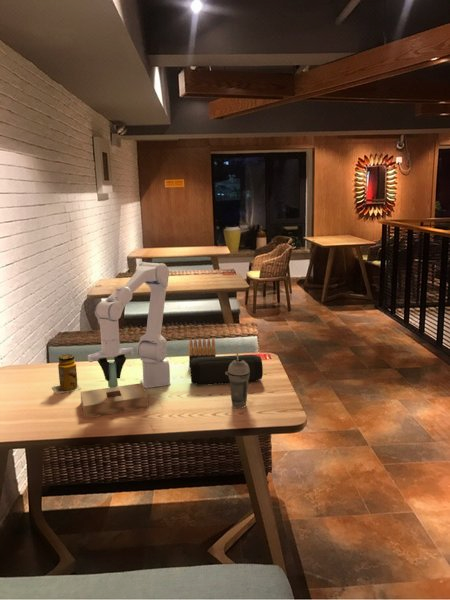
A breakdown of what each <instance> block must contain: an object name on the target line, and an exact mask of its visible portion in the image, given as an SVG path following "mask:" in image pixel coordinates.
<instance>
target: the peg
mask: <svg viewBox="0 0 450 600" xmlns="http://www.w3.org/2000/svg"><path fill="white" fill-rule="evenodd" d="M108 362H109V381H107V388H114V387H118V386H119V385H118V384H119V383H118V382H119V381H118V378H117V367H116V361H115V360H109V361H108Z"/></svg>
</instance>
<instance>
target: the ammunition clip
mask: <svg viewBox="0 0 450 600" xmlns="http://www.w3.org/2000/svg"><path fill="white" fill-rule="evenodd" d="M206 341H207V342H206ZM188 346H189V347H188V358H189V360H188V362H189V363H188V368H189V369H190V360H192V359H195V358H197V357H215V356H216V354H217V352H216V341H215V338H214V337H212V339H210V337H208V338H207V340H206V338H205V337H204V338H203V340H201V337H198V341H197V338H196V337H194V340H193V339H192V338H191V337H190V338H189V345H188Z"/></svg>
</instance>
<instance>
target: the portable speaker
mask: <svg viewBox="0 0 450 600" xmlns="http://www.w3.org/2000/svg"><path fill="white" fill-rule="evenodd" d="M238 358H239V359H240V360H243V361H245V362H246V363H247V364H248V366H249V370H250V376H249V379H248V383H256V382H258V381H260V380H262V378H263V375H264V374H263V373H264V372H263V371H264V370H263V369H264V367H263V361H262V357H261V356H259V355H256V354H238ZM234 360H237V354H236V355H220V356H218V355H217V356H215V357H197V358H195V359H192V360H190V368H189V369H190V383H191V384H194V385H197V386H208V384H212V385H224V384H225V383H230V380H229V376H228V368H229V365H230V364H231V363H232V362H233V361H234ZM225 385H226V384H225Z"/></svg>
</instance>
